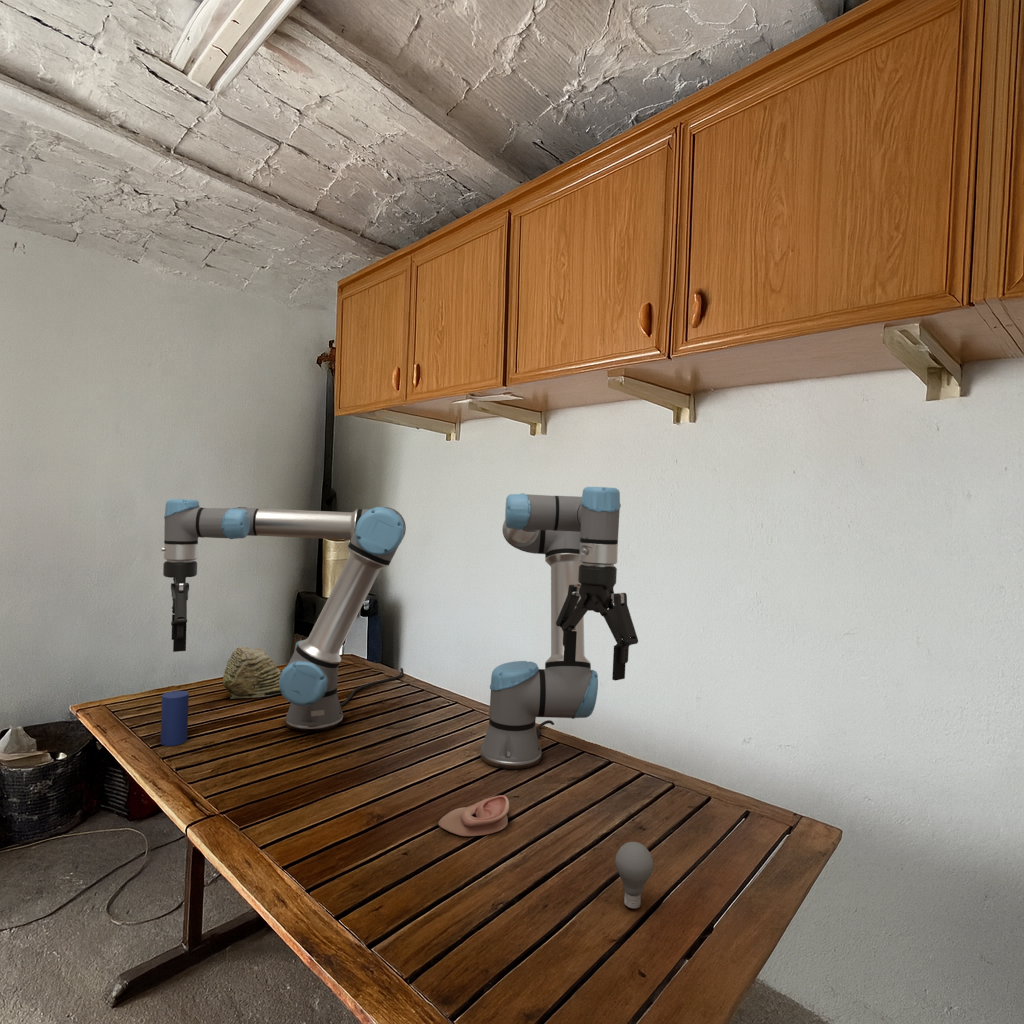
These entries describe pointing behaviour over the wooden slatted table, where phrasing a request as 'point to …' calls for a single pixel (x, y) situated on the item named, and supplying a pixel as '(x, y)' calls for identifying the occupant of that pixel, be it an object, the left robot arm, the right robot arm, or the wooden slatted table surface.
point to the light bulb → (633, 871)
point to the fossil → (251, 674)
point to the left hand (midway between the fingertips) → (178, 645)
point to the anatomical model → (478, 817)
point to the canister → (174, 718)
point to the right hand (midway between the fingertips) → (592, 670)
